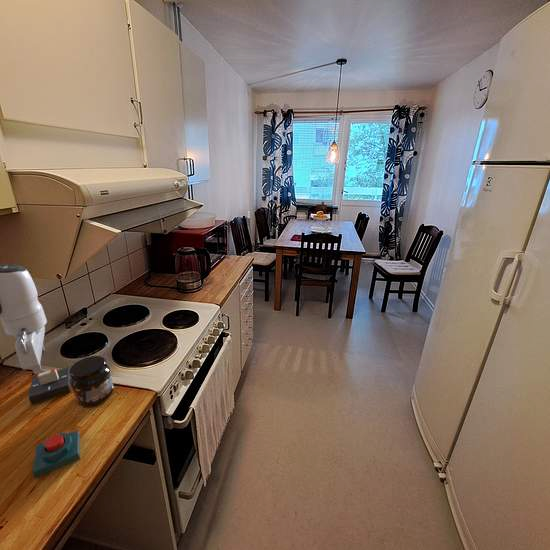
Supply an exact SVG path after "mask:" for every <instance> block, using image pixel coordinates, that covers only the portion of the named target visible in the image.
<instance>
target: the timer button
mask: <svg viewBox="0 0 550 550" xmlns="http://www.w3.org/2000/svg"><path fill="white" fill-rule="evenodd" d="M46 440H47V441H46ZM46 440H45V441H46V442H45V447H46V450H47V451H48V452H54V451H56V450H58V449H59V448H61V447H62V446H63V444H64V440H63V437H62V435H60V434H59V433H57V435H56V434H54V435H51V436H50V437H48V438H47V439H46Z"/></svg>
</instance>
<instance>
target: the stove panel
mask: <svg viewBox="0 0 550 550" xmlns="http://www.w3.org/2000/svg"><path fill="white" fill-rule="evenodd" d="M69 370H70V367H69V366H68V367H65V368H60V369H56V371H57V374H58V377H59V379H58V380H56V381H53V382H50V383H46V384H43V385H41V384H40V382H39V379H38V375H37V376H33V377H32V378H31V383H30V388H29V393H28V399H29V403H30V405H32V406H33V405H35V404H36V405H37V404H38V403H42V402H44V401H47V400H51V399H54V398H57V397H60V396H62V395H66V394H69V393H71V390H72V389H71V388H72V386H71V384H70V378H71V377H70V373H69Z"/></svg>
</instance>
